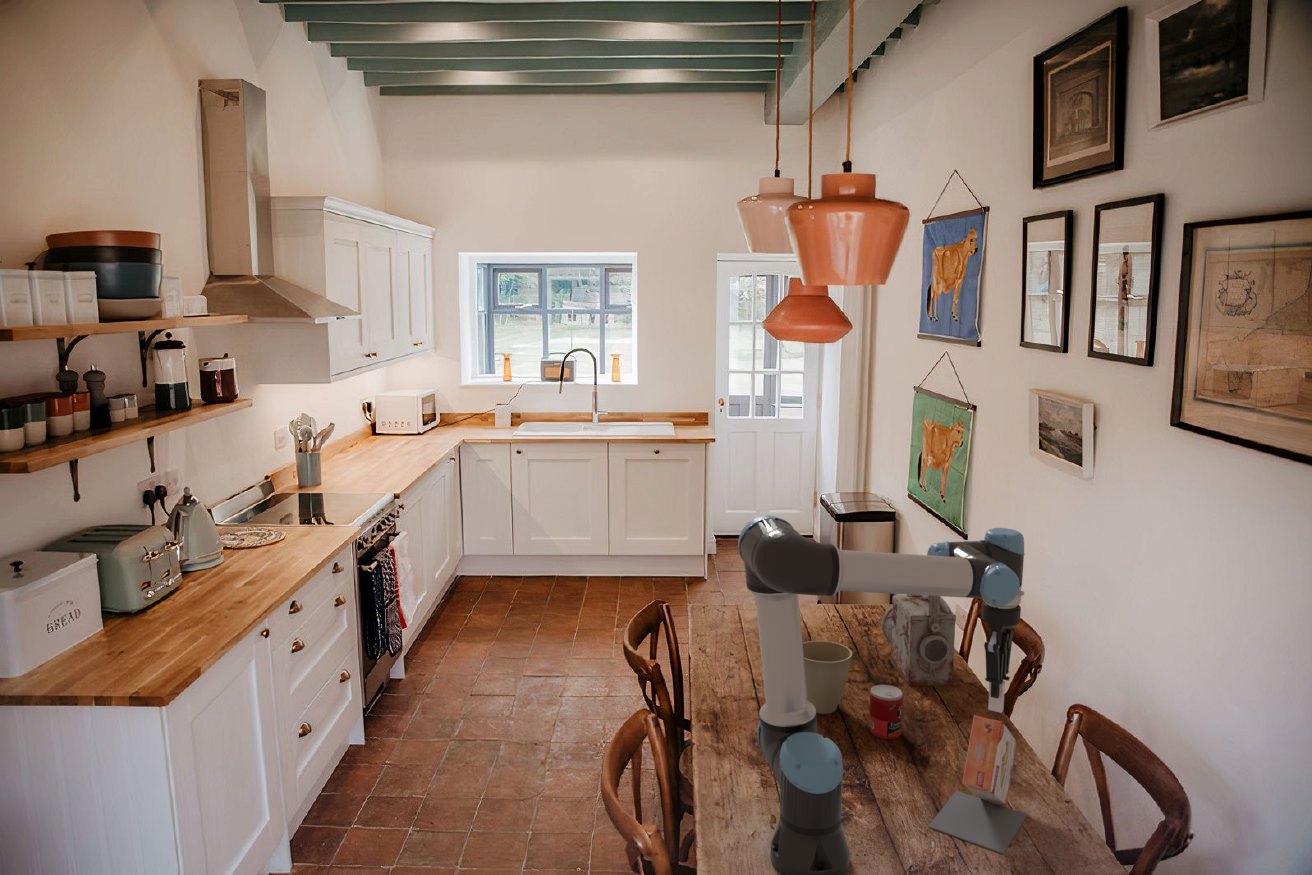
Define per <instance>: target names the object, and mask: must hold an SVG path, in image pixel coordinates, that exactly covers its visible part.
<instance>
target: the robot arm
mask: <svg viewBox="0 0 1312 875" xmlns="http://www.w3.org/2000/svg"><path fill="white" fill-rule="evenodd" d="M984 534H985V535H984V539H982V540H981V539H980V540H970V541H969V540H968V541H944V542H937V543H936V542H935V543H933V544H931V545H930V546H929V547H928V549H927V553H926V554H912V553H911V554H909V553H898V552H897V553H896V552H895V553H894V552H880V551H879V552H878V551H867V550H866V551H863V550H850V549H849V550H848V549H847V550H846V549H839V547H838V546H837V545H836V544H834V543H825V542H820V541H819V542H818V541H815V540H811V539H809V538H807V537H806V536H805V537H804V536H803V535H802V534H801V533H799V532H798V531H797V530H796V529H795V528H794V527H793V526H792V524H791V523H790V522H788V521H787V520H785V519H782V518H781V517H779V516H775V515H762V516H758V517H756V518H753V519H751V521H749V522H747V524H746V525H745V526H744V527H743V528H742V530H741V532H740V534H739V536H738V541H737V542H738V543H737V544H738V545H737V548H738V554H739V556H740V558H741V559H742V560H743V564H744V573H745V574H744V575H745V582H746V589H747V591H749V592H750V593H751V594H752V595H754V596H755V605H756V607H755V608H756V618H757V626H758V635H759V636H758V637H759V638H758V639H759V646H760V648H759V649H760V658H761V666H762V677H763V688H764V698H765V703H764V704H763V705H762V706H761V708H760V709H759V713H758V714H759V721H758V725H757V730H756V734H757V735H756V736H757V742H758V747H759V750H760V752H761V753H762V755H763V757H764V758H765V759H766V762H767V764H768V765H769V768H770V770H771V772H772V774H773V775H774V778H775V780H776V781H777V784H778V786H779V820H778V823H777V826H776V828H775V831H774V834H773V836H772V839H771V841H770V842H771V843H770V861H771V864H772V866H773V867H774V868H775V869H776V870H777V871H778V872H779V873H780V874H781V875H845V874H846V873H847V872H848V870H849V868H850V857H851V856H850V848H849V845H848V842H847V840H846V836H845V833H844V830H843V827H842V804H843V803H842V802H843V801H842V800H843V799H842V798H843V797H842V796H843V776H844V764H843V757H842V753H841V750H840V748H839V747H838V746H837V744H836V743H835V742H833V740H832V739H830V738H829V737H824V736H823V735H822V734H819V728H818V727H819V726H818V716H817V713H816V708H815V706H814V705H813V704H812V703H810V702H809V701H808V699H807V687H806V676H805V665H804V654H803V643H804V642H803V635H802V634H803V633H802V623H801V621H802V620H801V609H800V602H799V600H800V598H799V595H804V596H805V595H806V596H823V597H833V596H834V595H836V594H837V593H838V592H851V593H852V592H854V593H855V592H858V593H870V594H871V593H874V594H893V595H906V594H908V595H927V596H941V597H950V598H966V599H968V598H969V599H979V600H980V599H981V600H983V601H982V603H981V619H982V620H983V622H985V623H987V624H988V625H989V626H990V627H989V629H987V639H988V641H984V644H983V646H984V651H985V672H986V673H985V674H986V675H985V676H986V677H985V678H984V680H985V681H986V682H989V687H988V707H987V709H988V711H993V712H996V713H1000V714H1001V713H1002V712H1004V706H1005V691H1006V690H1005V687H1006V681H1007V682H1008V681H1010V678H1011V677H1010V676H1008V674H1009V672H1010V671H1009V670H1010V661H1011V655H1012V645H1013V639H1014V633H1015V626H1017V625H1019V624H1020V622H1021V610H1022V608H1021V605H1020V604H1021V602H1022V596H1023V597H1024V596H1025V592H1024V590H1022V588H1023V575H1024V574H1023V573H1024V560H1025V559H1024V557H1025V538H1024V534H1022V533H1021V532H1020V531H1018V530H1016V529H1012V528H1005V527H994V528H989V529H987V530H986V531H985V533H984Z"/></svg>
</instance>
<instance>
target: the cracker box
mask: <svg viewBox="0 0 1312 875" xmlns="http://www.w3.org/2000/svg"><path fill="white" fill-rule="evenodd" d="M968 742H969V743H968V748H967V755H966V761H965V767H964V772H963V777H962V784H963V786H965V787H966V788H967V789H968V790H969V791H970V792H972V793H973V794H974V795H976V796H977V798H980V799H983V800H986V801H989V802H992V803H995V804H998V805H1001V806H1004V807H1007V806H1008V803H1009V802H1008V800H1009V794H1010V787H1011V782H1012V781H1011V780H1012V776H1013V770H1014V769H1013V768H1014V764H1015V763H1014V762H1015V757H1016V751H1017V750H1016V749H1017V744H1018V742H1017V740H1016V739H1015V737H1014V736H1013V734H1012V733H1011V731H1009V729H1008V728H1007V726H1006V725H1005V724H1004V722H1003V721H1001V720H997V719H993V718H988V717H984V716H979V715H975V714H974V715H973V720H972V724H971V731H970V737H969V741H968Z"/></svg>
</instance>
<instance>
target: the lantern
mask: <svg viewBox="0 0 1312 875" xmlns="http://www.w3.org/2000/svg"><path fill="white" fill-rule="evenodd" d="M882 616H883V617H882V620H881V622H880V627H881V630H882V634H883V636H884V637H885V639H886V640H887V641H888V642H889V643H890V644H891V646H890V647H891V649H890V663H892V665H893V667H894V668H895V669H896V671H897V672H898V673H899V675H900V677H902V679H903V680H904V681H905V683H906V684H907V686H908V687H935V686H937V687H938V686H939V687H940V686H953V684H954V682H953V681H954V663H955V662H954V660H955V659H954V658H955V636H956V622H957V615H956V614H955V613H954V612H953V611H952V610H951V607H950V606H949V605H948V603H947V602H946V601H945V599H944V598H943V596H927V595H908V594H896V595H893V596H892V605H890V606H889V607H888V608H887V609H886V611H885V612H884V614H883V615H882Z"/></svg>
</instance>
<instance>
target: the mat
mask: <svg viewBox="0 0 1312 875" xmlns="http://www.w3.org/2000/svg"><path fill="white" fill-rule="evenodd" d="M1027 817H1028V813H1025V812H1022V811H1019V810H1016V809H1013V808H1010V807H1007V806H1004V805H1000V804H997V803H993V802H990V801H986V800H983V799H981V798H979V797H978V796H977V797H976V796H973V795H970V794H967V793H964V792H961V791H959V790H955V791H954V793H953V794H952V796H951V797H950V798H949V799H948V800H947V802H945V804H944V805H943V807H942V808H941V809H940V811H939V812H938V813H937V814H936V816H935V817H934V818H933V820H932V821H931V822H930V824H929V825H928V828H929V829H932V830H934V831H937V832H940V833H943V834H946V835H948V836H951V837H954V838H956V839H959V840H962V841H964V842H967V843H970V844H973V845H976V846H979V847H981V848H985V849H987V850H989V851H993V852H996V853H998V854H1001V855H1005V853H1006V852H1007V850H1008V848H1009V846H1010V845H1011V843H1012V842H1013V840H1014V838H1015V837H1016V835H1017V833H1018V832H1019V831H1020V829H1021V827H1022V825H1023V823H1024V821H1025V820H1026V818H1027Z"/></svg>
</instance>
